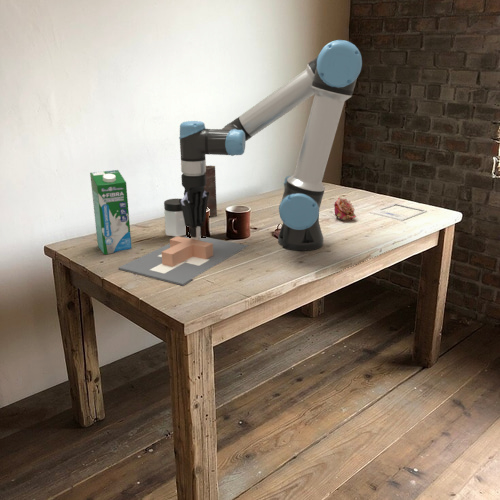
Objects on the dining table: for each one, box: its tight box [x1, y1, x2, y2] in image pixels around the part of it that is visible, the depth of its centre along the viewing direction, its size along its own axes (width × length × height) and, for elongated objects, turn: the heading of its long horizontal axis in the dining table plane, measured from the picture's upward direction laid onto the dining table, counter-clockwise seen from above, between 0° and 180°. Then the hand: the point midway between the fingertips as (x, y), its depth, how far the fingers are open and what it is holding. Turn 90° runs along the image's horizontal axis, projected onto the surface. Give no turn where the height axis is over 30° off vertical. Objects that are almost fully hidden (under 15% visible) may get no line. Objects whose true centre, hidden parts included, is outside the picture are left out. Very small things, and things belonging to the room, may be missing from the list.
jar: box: [163, 198, 187, 237], centre depth 190 cm, size 9×8×12 cm
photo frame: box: [369, 203, 428, 222], centre depth 217 cm, size 15×1×18 cm
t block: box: [162, 236, 213, 267], centre depth 168 cm, size 14×14×4 cm
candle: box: [204, 165, 218, 218], centre depth 209 cm, size 8×7×20 cm
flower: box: [333, 197, 357, 223], centre depth 207 cm, size 10×9×8 cm
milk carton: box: [89, 169, 132, 255], centre depth 175 cm, size 9×9×25 cm
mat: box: [118, 235, 250, 287], centre depth 170 cm, size 24×36×1 cm, turn 150°
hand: (196, 245), depth 174 cm, fingers closed
